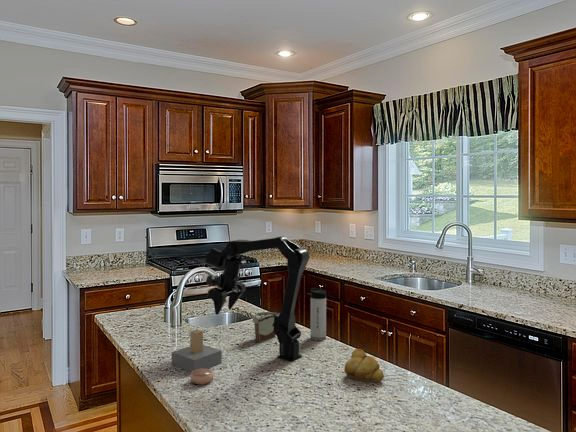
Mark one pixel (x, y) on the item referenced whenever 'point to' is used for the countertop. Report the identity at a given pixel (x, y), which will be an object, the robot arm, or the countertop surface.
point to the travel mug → (318, 314)
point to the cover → (196, 354)
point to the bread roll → (363, 367)
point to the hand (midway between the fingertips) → (223, 311)
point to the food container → (264, 326)
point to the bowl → (201, 376)
